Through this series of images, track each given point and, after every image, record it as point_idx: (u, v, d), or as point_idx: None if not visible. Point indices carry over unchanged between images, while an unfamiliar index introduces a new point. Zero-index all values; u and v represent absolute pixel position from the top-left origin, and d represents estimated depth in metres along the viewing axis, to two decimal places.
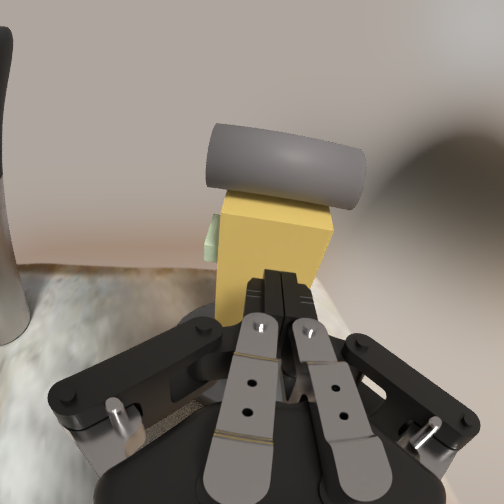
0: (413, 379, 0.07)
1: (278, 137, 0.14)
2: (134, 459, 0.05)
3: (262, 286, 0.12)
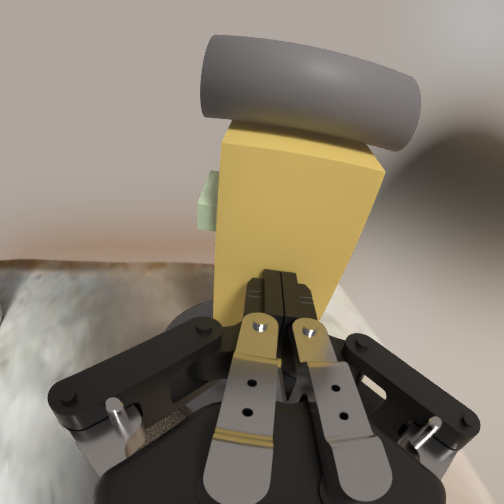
0: (413, 379, 0.07)
1: (302, 45, 0.09)
2: (134, 459, 0.05)
3: (262, 286, 0.12)
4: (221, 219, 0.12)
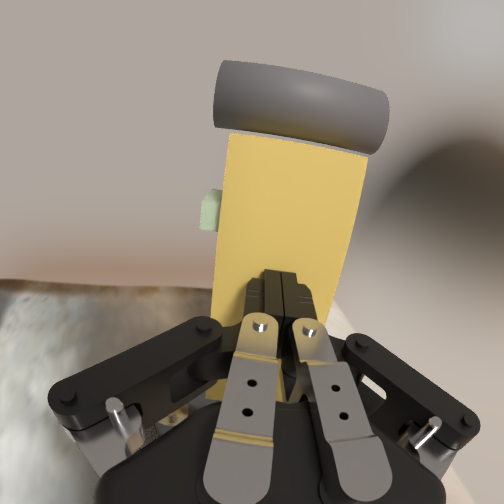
0: (413, 379, 0.07)
1: None
2: (134, 459, 0.05)
3: (262, 286, 0.12)
4: (225, 208, 0.13)
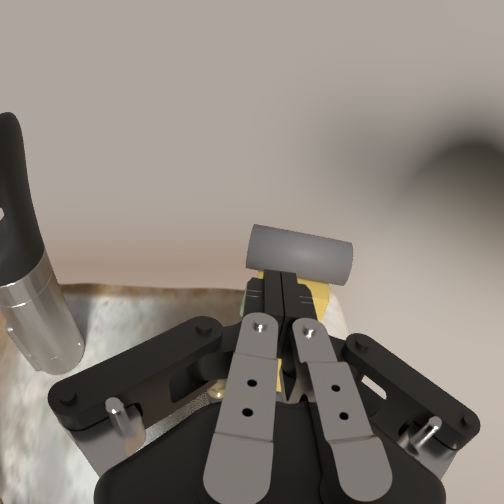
0: (413, 379, 0.07)
1: (294, 238, 0.22)
2: (134, 459, 0.05)
3: (262, 286, 0.12)
4: None
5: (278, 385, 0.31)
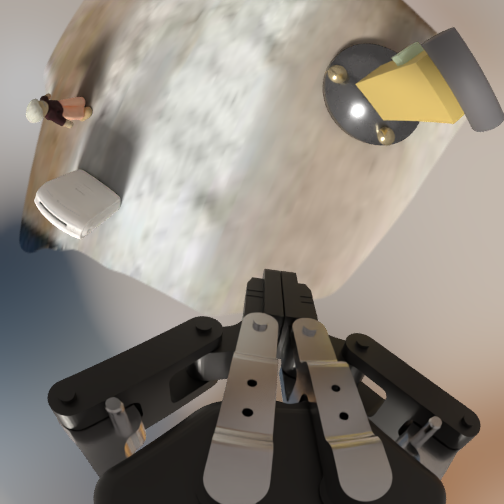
0: (413, 379, 0.07)
1: (472, 72, 0.13)
2: (134, 459, 0.05)
3: (262, 286, 0.12)
4: (399, 70, 0.19)
5: (380, 110, 0.31)
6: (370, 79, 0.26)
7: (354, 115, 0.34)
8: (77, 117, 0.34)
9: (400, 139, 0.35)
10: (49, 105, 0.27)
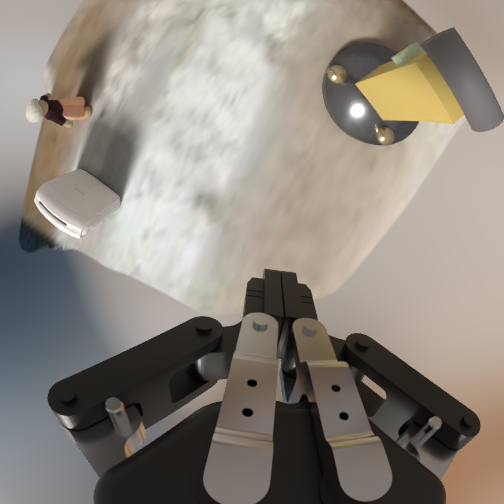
0: (413, 379, 0.07)
1: (471, 72, 0.13)
2: (134, 459, 0.05)
3: (262, 286, 0.12)
4: (399, 70, 0.19)
5: (380, 110, 0.31)
6: (370, 79, 0.26)
7: (353, 115, 0.34)
8: (77, 117, 0.34)
9: (400, 139, 0.35)
10: (49, 105, 0.27)
